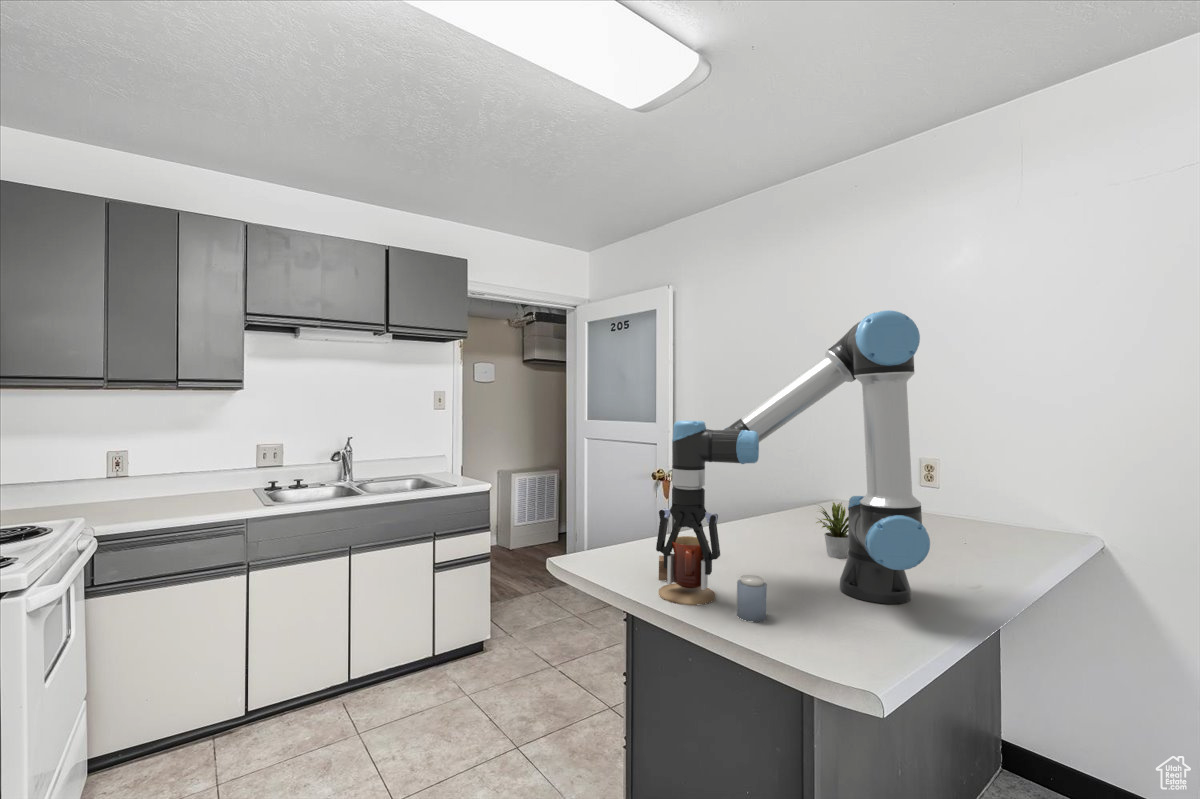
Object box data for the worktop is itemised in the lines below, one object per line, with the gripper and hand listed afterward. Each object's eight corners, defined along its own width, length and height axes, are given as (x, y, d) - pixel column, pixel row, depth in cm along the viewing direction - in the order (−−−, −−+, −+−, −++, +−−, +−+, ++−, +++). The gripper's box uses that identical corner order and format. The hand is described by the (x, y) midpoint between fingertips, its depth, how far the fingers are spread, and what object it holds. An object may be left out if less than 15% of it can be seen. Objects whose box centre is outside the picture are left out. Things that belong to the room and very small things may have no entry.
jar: (768, 614, 118) (769, 576, 118) (763, 624, 112) (764, 584, 113) (740, 609, 121) (740, 572, 121) (733, 618, 115) (734, 580, 115)
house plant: (804, 547, 174) (804, 495, 174) (850, 549, 172) (851, 496, 172) (815, 560, 160) (816, 503, 160) (866, 562, 158) (866, 505, 158)
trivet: (721, 591, 132) (721, 588, 132) (706, 609, 120) (706, 606, 120) (669, 582, 138) (669, 580, 138) (650, 598, 126) (650, 596, 126)
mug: (672, 577, 136) (672, 535, 136) (708, 579, 134) (708, 537, 134) (668, 593, 124) (668, 547, 124) (708, 596, 122) (708, 550, 122)
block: (678, 575, 144) (678, 556, 144) (678, 581, 139) (678, 561, 139) (659, 574, 144) (659, 555, 144) (658, 580, 139) (658, 560, 139)
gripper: (735, 488, 128) (734, 587, 128) (653, 481, 137) (652, 574, 137) (727, 492, 121) (726, 597, 121) (641, 485, 130) (640, 583, 130)
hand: (687, 585), depth 129 cm, fingers closed on mug, 7 cm apart
